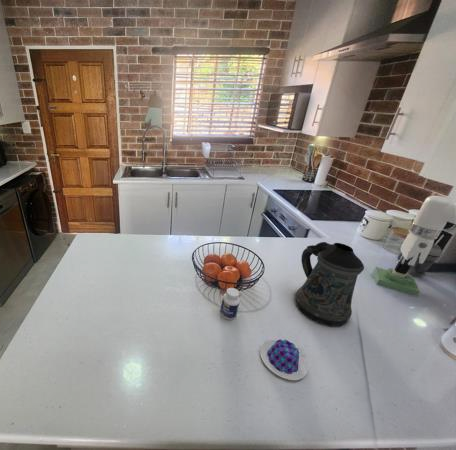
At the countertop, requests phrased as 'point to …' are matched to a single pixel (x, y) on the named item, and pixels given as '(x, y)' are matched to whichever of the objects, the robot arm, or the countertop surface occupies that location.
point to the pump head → (398, 274)
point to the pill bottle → (230, 304)
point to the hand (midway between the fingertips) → (399, 271)
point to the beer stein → (328, 283)
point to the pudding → (283, 359)
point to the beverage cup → (426, 261)
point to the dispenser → (395, 281)
